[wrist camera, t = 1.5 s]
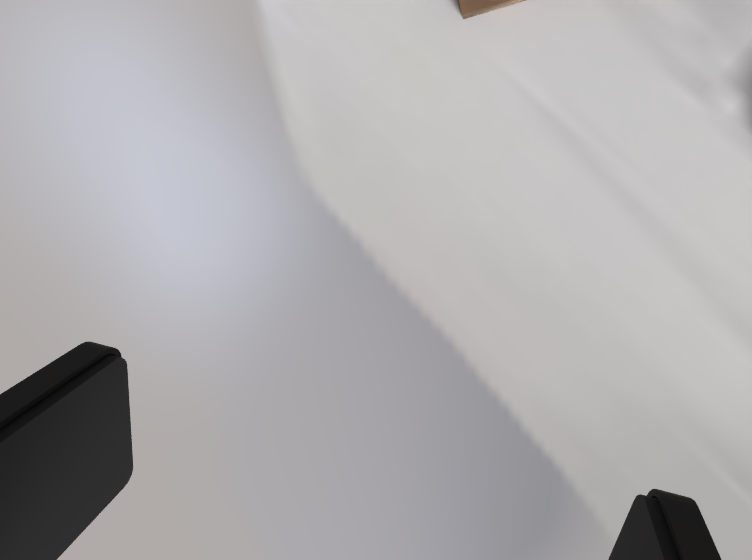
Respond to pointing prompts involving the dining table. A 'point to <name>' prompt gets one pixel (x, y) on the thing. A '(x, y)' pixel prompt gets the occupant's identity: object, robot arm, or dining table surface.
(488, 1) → the cracker base
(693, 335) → the dining table surface
